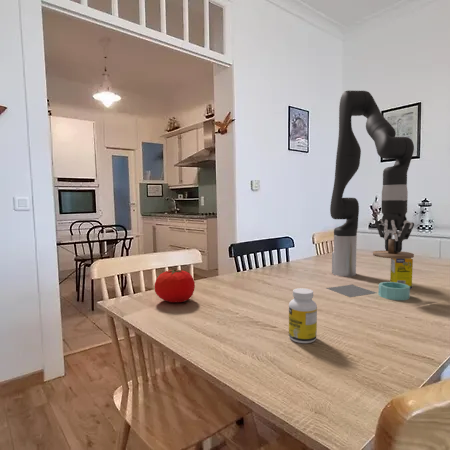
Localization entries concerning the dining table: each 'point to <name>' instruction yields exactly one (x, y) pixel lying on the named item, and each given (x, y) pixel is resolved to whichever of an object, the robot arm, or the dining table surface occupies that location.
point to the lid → (391, 253)
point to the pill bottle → (302, 316)
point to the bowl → (394, 291)
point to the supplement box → (401, 271)
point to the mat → (351, 290)
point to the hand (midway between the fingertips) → (393, 251)
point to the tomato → (174, 285)
